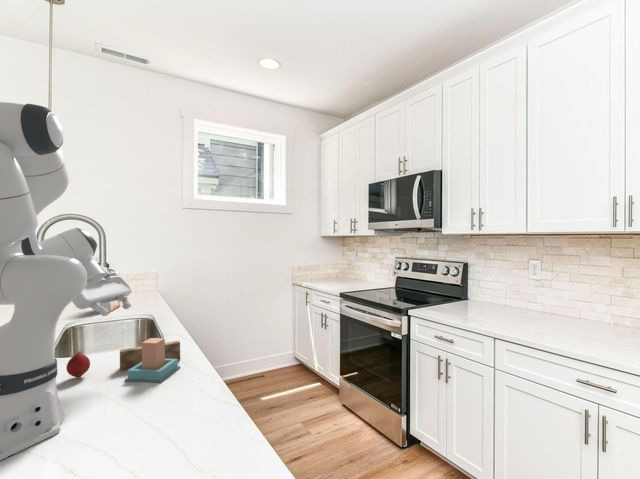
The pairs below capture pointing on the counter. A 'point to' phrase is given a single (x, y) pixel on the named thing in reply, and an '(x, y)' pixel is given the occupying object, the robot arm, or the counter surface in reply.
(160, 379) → the tray
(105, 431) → the counter surface
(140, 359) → the walnut board
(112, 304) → the cracker box
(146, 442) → the counter surface
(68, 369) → the onion
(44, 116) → the robot arm
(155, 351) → the block
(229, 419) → the counter surface
